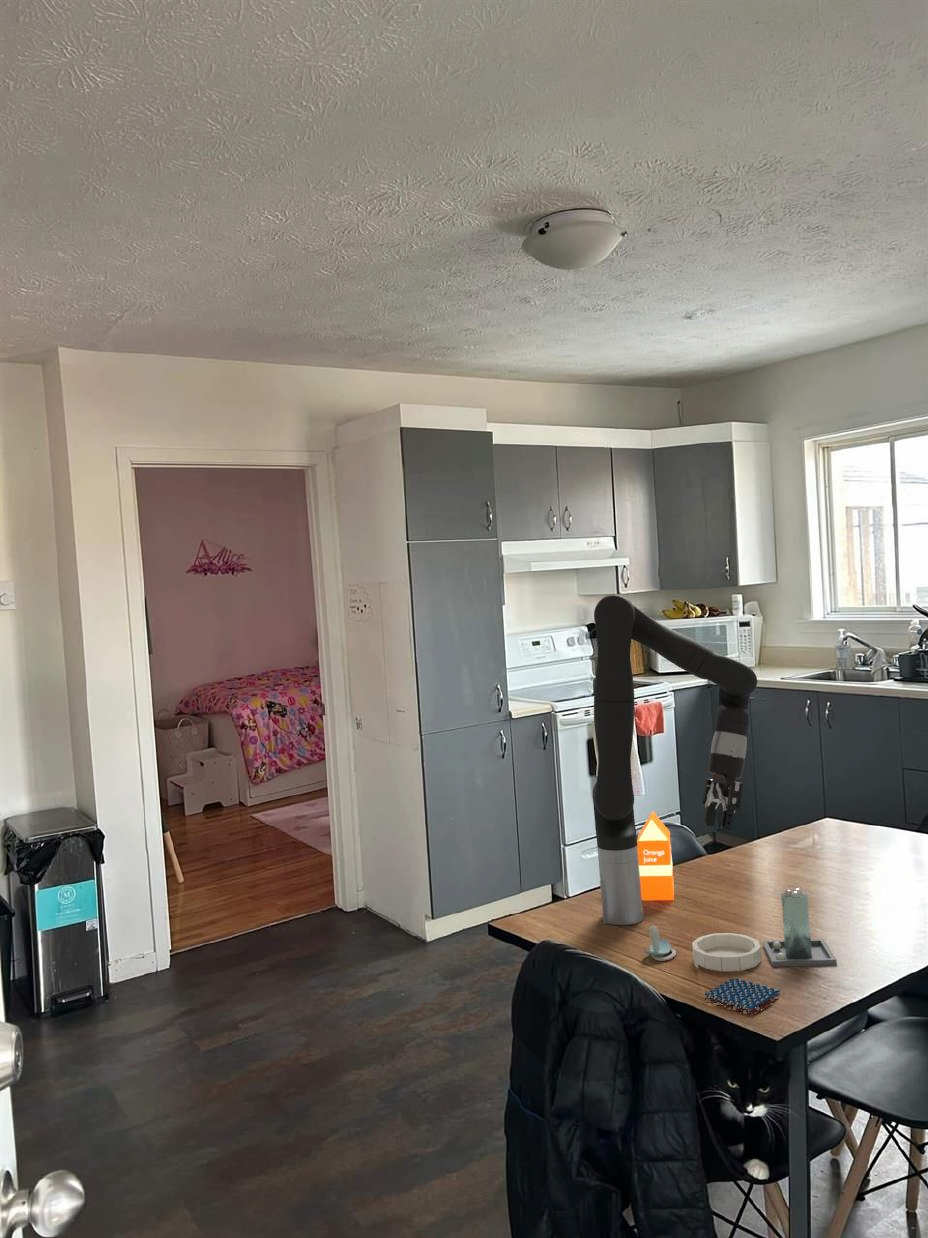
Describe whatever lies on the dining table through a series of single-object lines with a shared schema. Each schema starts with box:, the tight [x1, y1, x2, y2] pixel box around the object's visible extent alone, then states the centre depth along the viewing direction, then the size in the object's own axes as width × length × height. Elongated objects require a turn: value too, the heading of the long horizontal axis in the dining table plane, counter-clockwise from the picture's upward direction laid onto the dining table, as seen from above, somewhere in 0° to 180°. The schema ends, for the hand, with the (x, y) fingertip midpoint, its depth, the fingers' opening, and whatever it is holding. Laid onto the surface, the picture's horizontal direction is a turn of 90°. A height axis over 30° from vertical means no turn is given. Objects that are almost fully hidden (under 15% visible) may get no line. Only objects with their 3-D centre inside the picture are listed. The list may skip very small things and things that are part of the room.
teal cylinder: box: [780, 887, 812, 959], centre depth 191 cm, size 5×5×13 cm
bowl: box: [691, 932, 762, 972], centre depth 193 cm, size 13×13×4 cm
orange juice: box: [637, 810, 675, 901], centre depth 238 cm, size 8×9×20 cm
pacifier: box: [642, 925, 677, 962], centre depth 199 cm, size 7×6×6 cm
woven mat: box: [704, 977, 781, 1016], centre depth 175 cm, size 10×11×2 cm
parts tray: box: [762, 938, 838, 968], centre depth 191 cm, size 12×11×3 cm
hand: (717, 827), depth 211 cm, fingers open, 8 cm apart
